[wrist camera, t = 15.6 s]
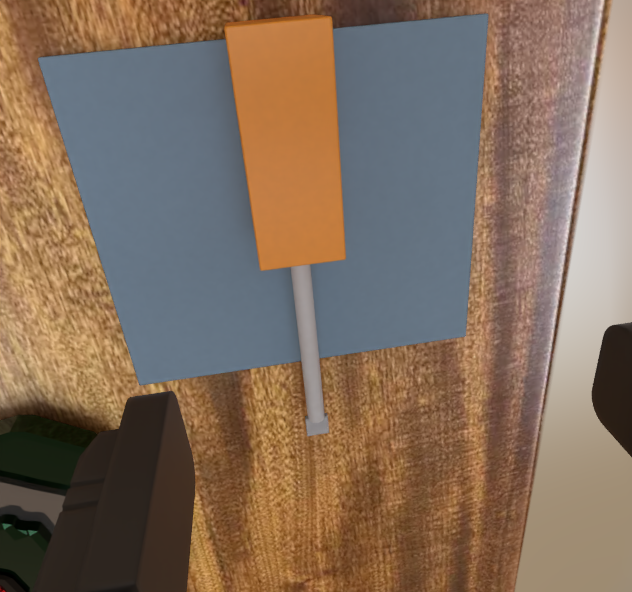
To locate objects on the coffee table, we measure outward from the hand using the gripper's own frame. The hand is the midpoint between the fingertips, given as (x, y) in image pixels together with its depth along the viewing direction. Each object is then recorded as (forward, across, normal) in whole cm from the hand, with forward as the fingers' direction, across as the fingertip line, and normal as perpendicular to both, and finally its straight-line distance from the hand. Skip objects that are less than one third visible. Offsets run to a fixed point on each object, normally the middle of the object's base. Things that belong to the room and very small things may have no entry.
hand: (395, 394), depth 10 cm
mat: (+16, +1, +2) cm, 17 cm away
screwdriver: (+16, +1, +4) cm, 17 cm away
